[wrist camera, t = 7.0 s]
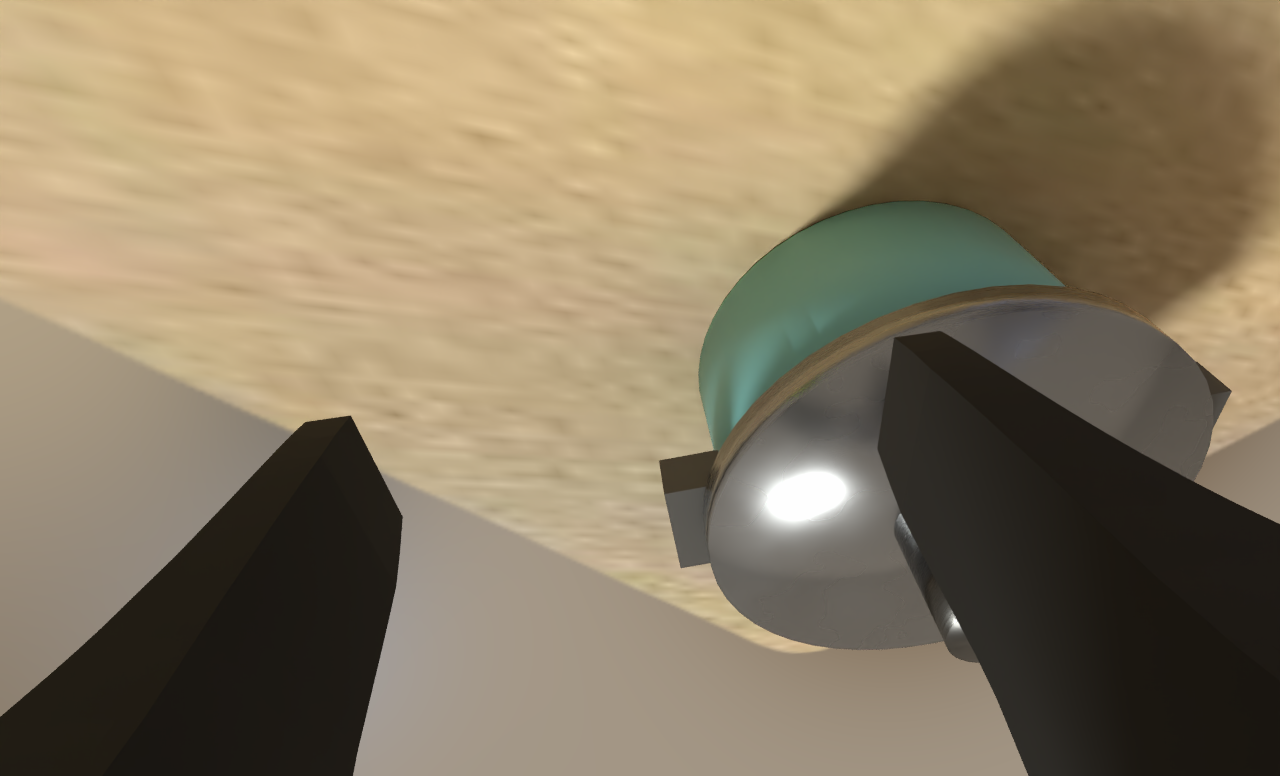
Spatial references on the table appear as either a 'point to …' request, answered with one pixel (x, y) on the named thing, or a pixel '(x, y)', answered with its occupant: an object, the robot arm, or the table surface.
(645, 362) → the table surface
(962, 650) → the lid
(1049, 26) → the table surface
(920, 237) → the pot
